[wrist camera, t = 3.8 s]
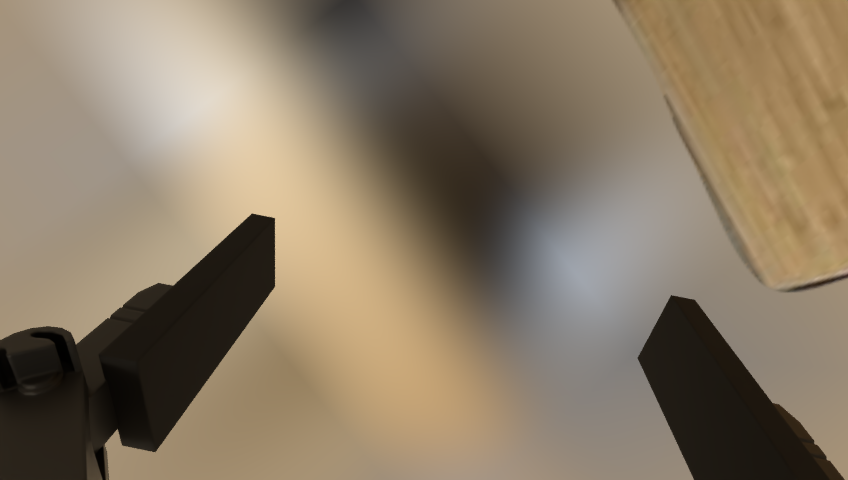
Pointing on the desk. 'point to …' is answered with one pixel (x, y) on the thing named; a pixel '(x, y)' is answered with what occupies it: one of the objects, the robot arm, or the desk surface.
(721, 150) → the desk surface
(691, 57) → the desk surface
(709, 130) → the desk surface
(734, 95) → the desk surface
